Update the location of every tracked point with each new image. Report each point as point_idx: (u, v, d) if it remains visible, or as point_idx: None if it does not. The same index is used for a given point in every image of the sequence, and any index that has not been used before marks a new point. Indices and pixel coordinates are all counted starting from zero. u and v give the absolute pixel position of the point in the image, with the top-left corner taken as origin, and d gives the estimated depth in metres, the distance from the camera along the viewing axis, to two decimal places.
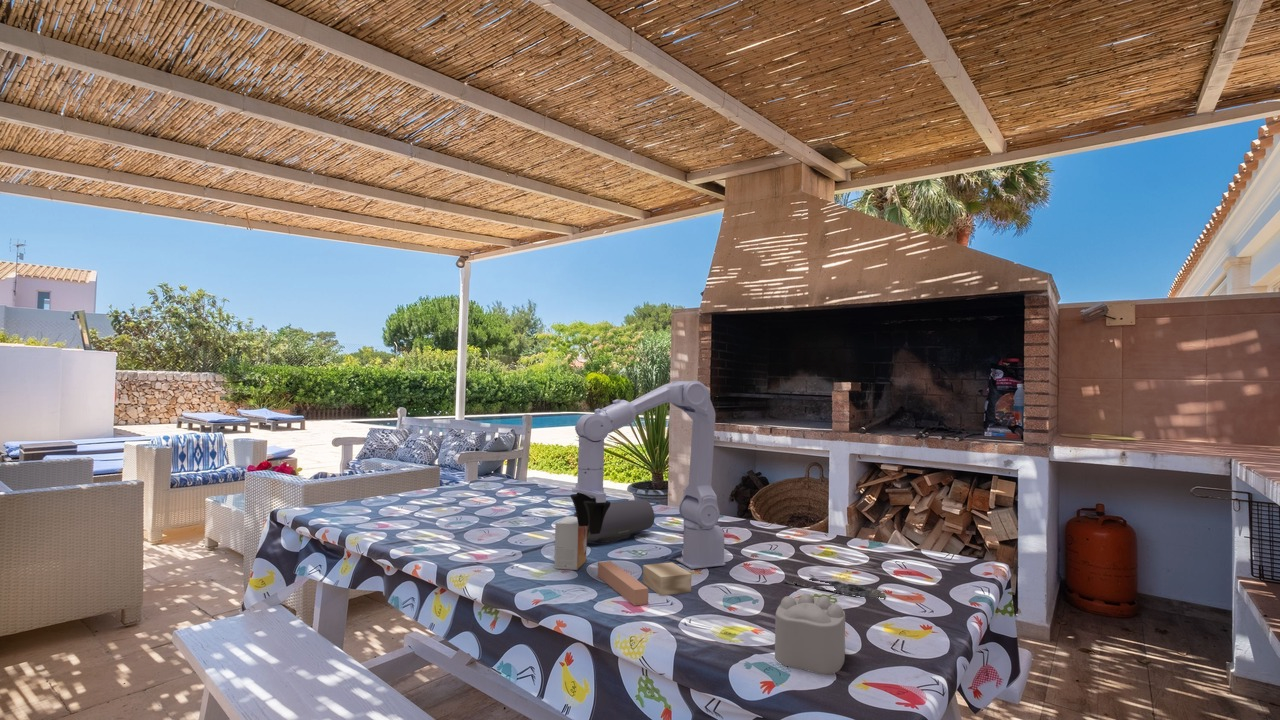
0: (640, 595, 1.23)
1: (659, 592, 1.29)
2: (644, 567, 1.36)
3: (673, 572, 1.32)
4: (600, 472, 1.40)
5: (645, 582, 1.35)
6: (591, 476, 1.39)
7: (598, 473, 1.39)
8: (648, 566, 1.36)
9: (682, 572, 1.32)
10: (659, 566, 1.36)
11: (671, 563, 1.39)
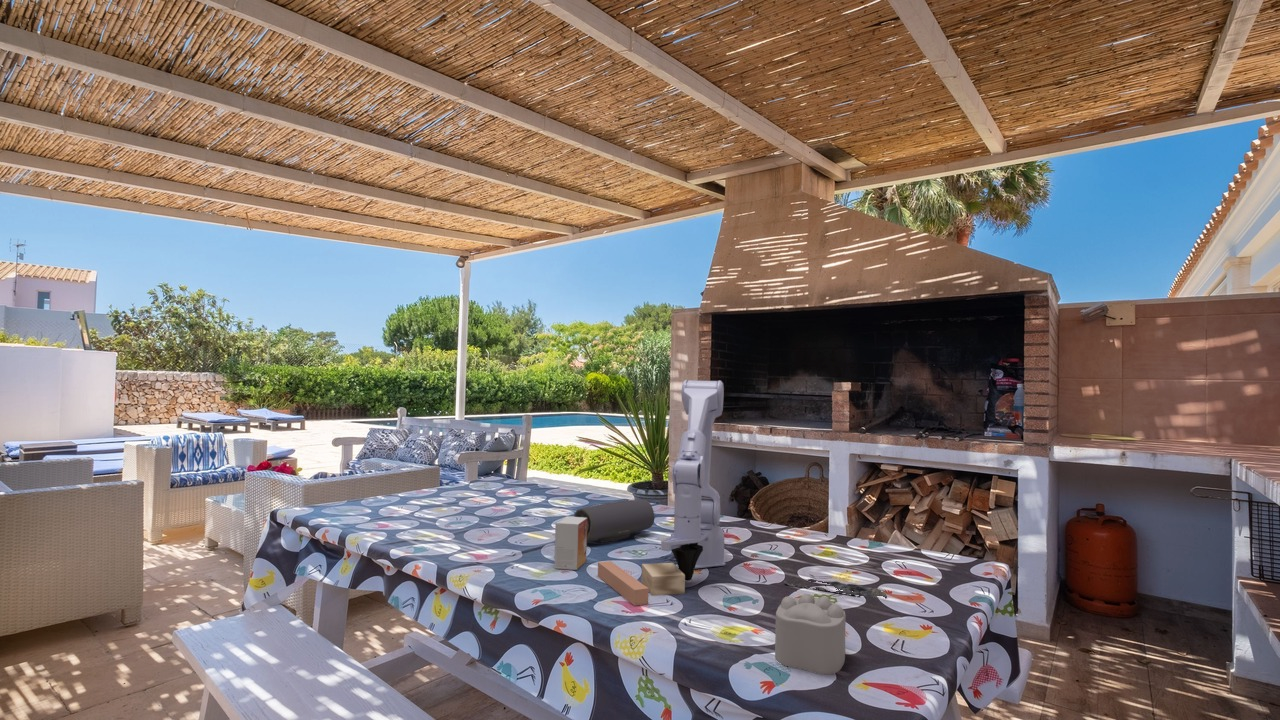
0: (640, 595, 1.23)
1: (651, 591, 1.29)
2: (642, 566, 1.37)
3: (668, 572, 1.32)
4: (685, 521, 1.34)
5: (643, 581, 1.36)
6: (676, 523, 1.35)
7: (682, 521, 1.34)
8: (646, 565, 1.37)
9: (676, 573, 1.32)
10: (657, 566, 1.36)
11: (671, 563, 1.38)
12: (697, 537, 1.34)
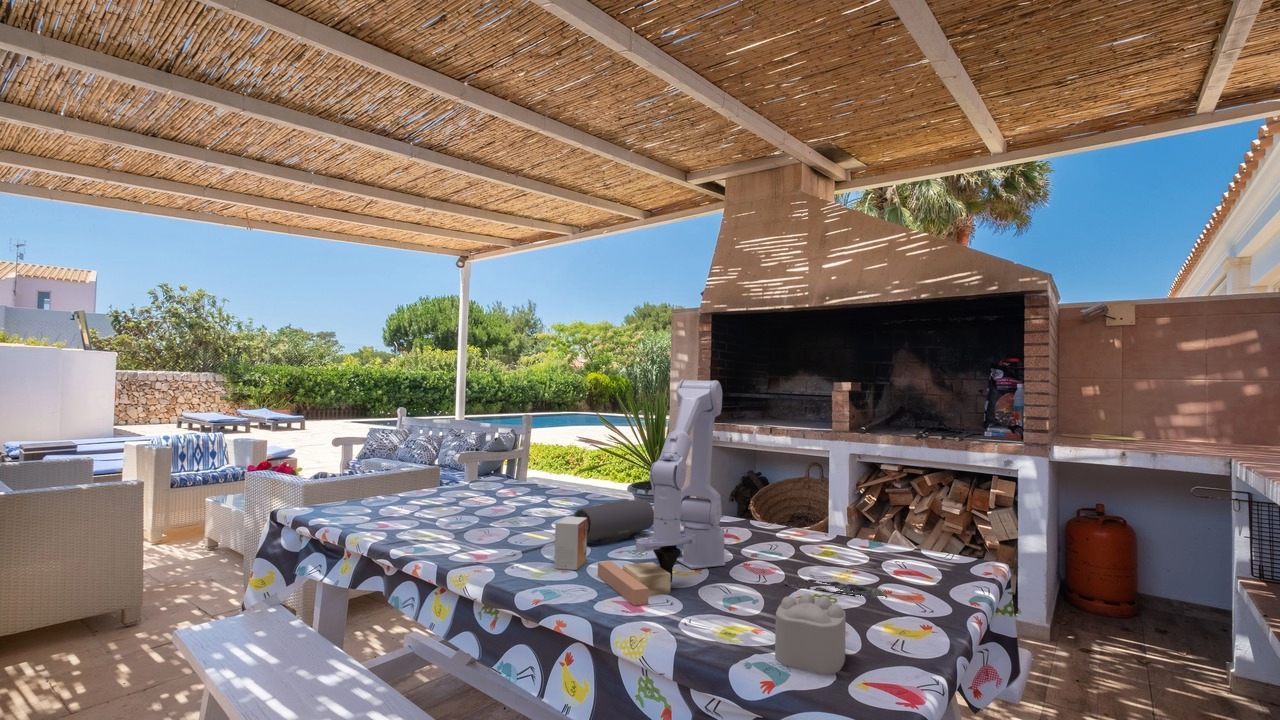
0: (640, 595, 1.23)
1: None
2: (624, 567, 1.35)
3: (653, 571, 1.31)
4: (661, 523, 1.32)
5: None
6: (654, 524, 1.34)
7: (659, 523, 1.32)
8: (628, 566, 1.35)
9: (661, 572, 1.31)
10: (639, 566, 1.35)
11: (651, 563, 1.38)
12: (674, 540, 1.32)
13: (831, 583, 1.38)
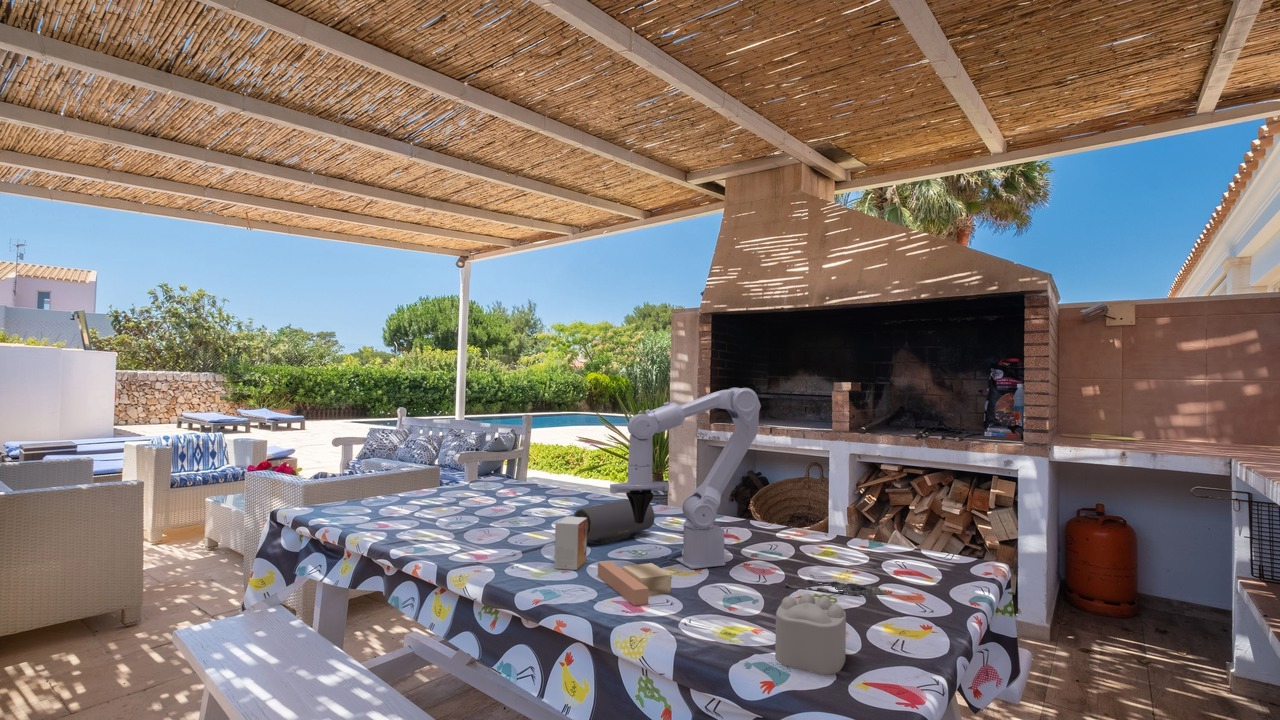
0: (640, 595, 1.23)
1: None
2: (624, 568, 1.35)
3: (653, 573, 1.31)
4: (633, 468, 1.49)
5: None
6: (628, 471, 1.50)
7: (631, 469, 1.49)
8: (628, 567, 1.35)
9: (662, 573, 1.31)
10: (639, 567, 1.35)
11: (651, 564, 1.38)
12: (644, 484, 1.48)
13: (831, 583, 1.38)
